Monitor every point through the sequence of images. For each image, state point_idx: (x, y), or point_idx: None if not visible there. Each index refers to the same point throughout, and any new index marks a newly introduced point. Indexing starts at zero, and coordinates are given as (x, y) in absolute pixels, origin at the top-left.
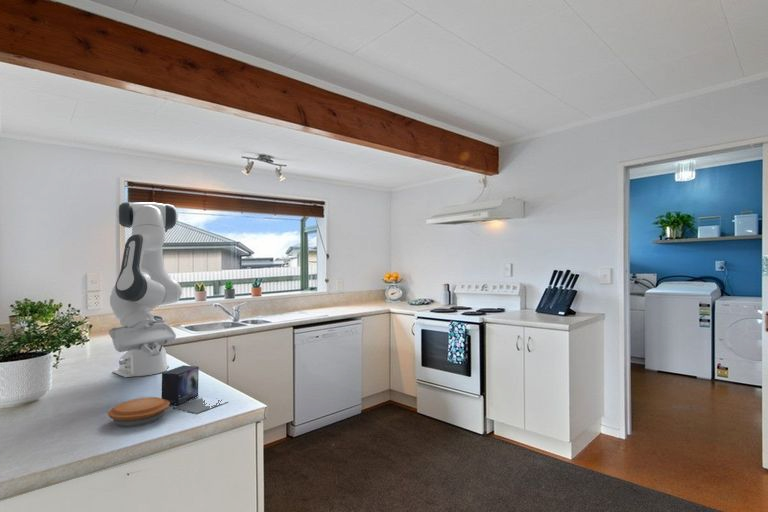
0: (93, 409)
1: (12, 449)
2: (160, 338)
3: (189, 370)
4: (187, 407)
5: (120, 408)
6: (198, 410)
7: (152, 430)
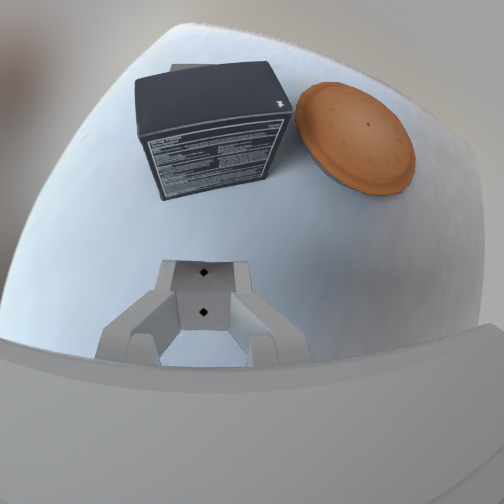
0: (375, 338)
1: (481, 232)
2: (34, 361)
3: (198, 68)
4: None
5: (402, 143)
6: None
7: None
